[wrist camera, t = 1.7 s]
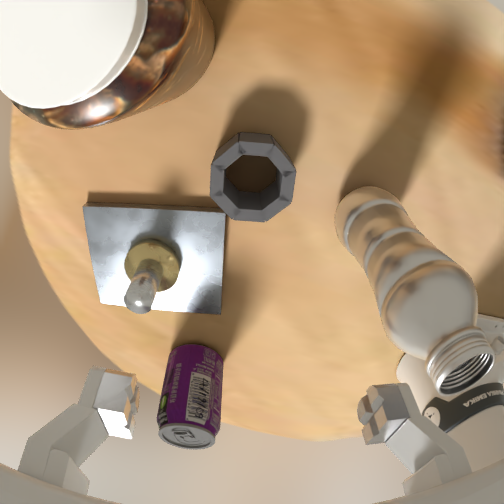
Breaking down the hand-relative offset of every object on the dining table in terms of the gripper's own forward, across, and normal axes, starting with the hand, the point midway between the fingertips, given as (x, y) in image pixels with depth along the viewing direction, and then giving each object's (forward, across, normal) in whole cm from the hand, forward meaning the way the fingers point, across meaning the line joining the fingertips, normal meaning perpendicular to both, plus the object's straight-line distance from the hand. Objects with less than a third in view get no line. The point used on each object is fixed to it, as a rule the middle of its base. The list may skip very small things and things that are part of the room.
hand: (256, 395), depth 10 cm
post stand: (+22, +8, +9) cm, 25 cm away
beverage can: (+22, +3, +24) cm, 32 cm away
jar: (+22, +10, -12) cm, 27 cm away
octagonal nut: (+21, 0, -1) cm, 21 cm away
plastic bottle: (+21, -12, +1) cm, 24 cm away
